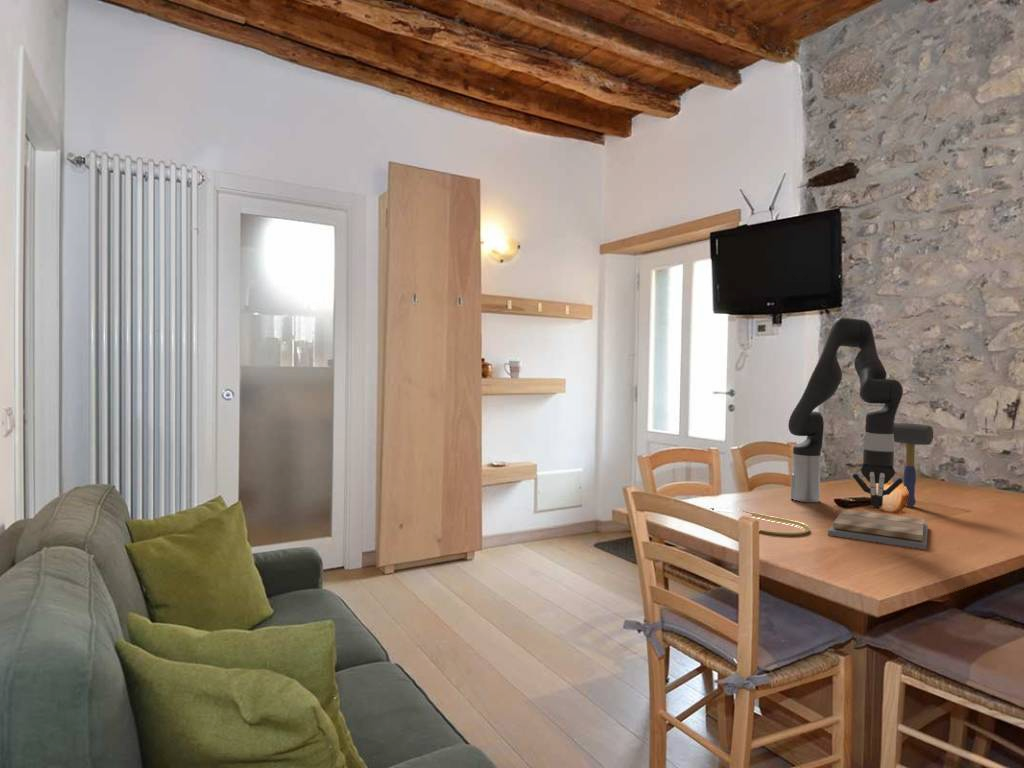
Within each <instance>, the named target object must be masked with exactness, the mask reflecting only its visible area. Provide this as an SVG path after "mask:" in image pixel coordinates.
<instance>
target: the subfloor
mask: <svg viewBox="0 0 1024 768" xmlns="http://www.w3.org/2000/svg"><path fill="white" fill-rule="evenodd" d="M841 512H842V511H840V513H841ZM840 513H839V514H838V515H837V517H836V518H835V520H836V519H844V520H851V521H858V522H866V523H873V524H881V525H888V526H895V527H903V528H910V529H917V530H923V538H922V541H919V540H912V539H905V538H898V537H891V536H884V535H877V534H870V533H863V532H856V531H849V530H842V529H835V528H833V523H832V524H831V526H830V527H829V528H828V530H827V536H829V537H836V536H838V537H837V538H843V537H845V539H849V538H852V540H856V539H858V540H857V541H863V542H864V541H865V542H869V541H871V542H870V543H876V542H878V543H877V544H883V543H884V544H883V545H889V546H896V545H897V547H903V546H906V547H905V548H909V547H912V548H911V549H916V548H918V549H917V550H922V549H925V550H924V551H927V544H928V543H927V542H928V529H929V528H928V527H929V525H928V524H929V523H926V522H924V528H923V525H922V524H914V523H906V522H899V521H891V520H883V519H876V518H868V517H861V516H853V515H845V514H840ZM835 520H834V521H835Z"/></svg>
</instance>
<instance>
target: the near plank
mask: <svg viewBox="0 0 1024 768" xmlns="http://www.w3.org/2000/svg"><path fill="white" fill-rule="evenodd" d="M835 519H836V518H835ZM832 524H833V528H835V529H842V530H849V531H856V532H863V533H870V534H877V535H884V536H891V537H898V538H905V539H912V540H919V541H922V538H923V530H917V529H910V528H903V527H895V526H888V525H881V524H873V523H866V522H858V521H851V520H844V519H836V520H834V521H833V522H832Z"/></svg>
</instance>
